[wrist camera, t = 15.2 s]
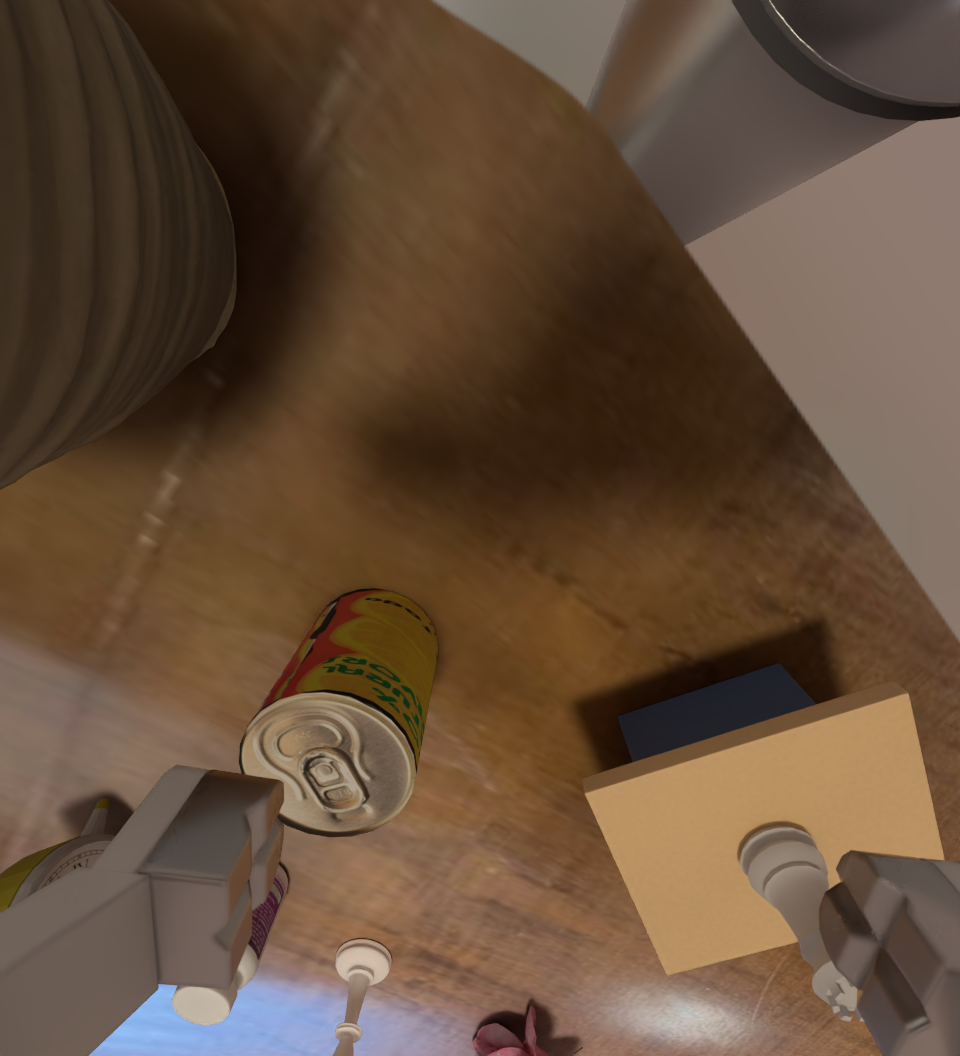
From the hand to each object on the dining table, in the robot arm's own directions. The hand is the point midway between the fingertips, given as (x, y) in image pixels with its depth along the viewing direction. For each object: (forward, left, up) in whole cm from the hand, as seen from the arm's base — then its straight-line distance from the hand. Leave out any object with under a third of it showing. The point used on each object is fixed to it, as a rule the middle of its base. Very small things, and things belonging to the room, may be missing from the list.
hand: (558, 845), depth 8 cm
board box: (-6, +26, -28) cm, 39 cm away
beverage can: (+14, +9, -29) cm, 33 cm away
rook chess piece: (-6, +26, -19) cm, 33 cm away
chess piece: (+29, +37, -29) cm, 55 cm away
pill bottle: (+33, +25, -29) cm, 50 cm away
